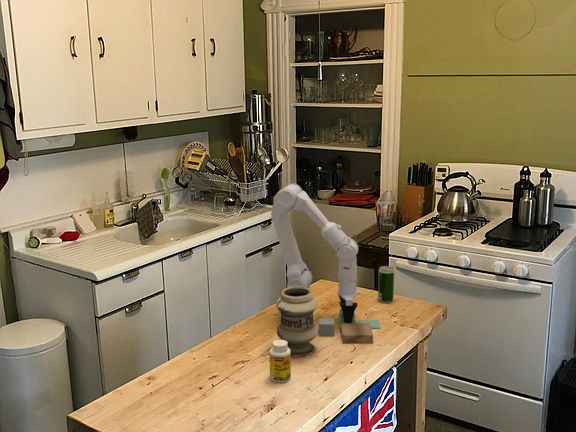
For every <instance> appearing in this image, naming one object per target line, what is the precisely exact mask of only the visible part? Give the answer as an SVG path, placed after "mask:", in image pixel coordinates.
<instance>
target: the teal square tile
mask: <svg viewBox="0 0 576 432" xmlns="http://www.w3.org/2000/svg"><path fill="white" fill-rule="evenodd" d="M358 321H359V322H358V323H370V326H371V329H373V330H375V329H376V330H380V329H381V326H380V322H379V320H378V319H358Z"/></svg>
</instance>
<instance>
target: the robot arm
mask: <svg viewBox="0 0 576 432" xmlns="http://www.w3.org/2000/svg"><path fill="white" fill-rule="evenodd" d="M302 189H303V188H302V187H301V186H300V185H298V184H297V183H290V184H287V185H286V186H285V187H283V188H281V189H280V190H278V191H277V193H276V194H275V196H274V197H273V205H272V208H271V213H270V217H271V221H272V224H273V226H274V230H275V233H276V236H277V239H278V241H279V242H278V243H279V245H280V248H281V251H282V254H283V257H284V261H285V263H286V268H287V269H286V277H287V285H286V286H287V287H286V288H289V287H294V286H301V287H306V288H309V289H310V290H311V291H312V289H311V286H310V285H311V284H312V283H313V281H314V280H313V279H314V278H313V277H314V276H313V274H312V272H311V271H310V270H309V269H308V266H307V264H306V263H305V262H304V261H303V259H302V256H301V252H300V249H299V245H298V243H297V240H296V237H295V234H294V231H293V228H292V224H291V221H290V217H289V214H290V213H291V211H292V210H293V211H300V212H304V213H305V214H306V216H308V218H310V219H311V221H313V222H314V224H316V226H318V227H319V228H320V229H321V230H320V234H321V236H322V237H323V239H325V241H326V242H328V244H329V245H330V246H331V247H332V248H333V250H335V251H336V255H337V259H338V290H337V296H338V297H339V300H340V301H339V302H338V303H339V307H340V309H342V311H343V317H344V322H345V323H352V319H353V314H354V312H355V311H356V309H357V307H358V302H353V301H354V299H355V298H356V296H358V295H361V290H359V289H357V288H358V287H357V284H358V283H357V281H358V280H357V278H358V264H357V263H358V261H357V254H358V253H359V245H358V243H357V242H356V240H354V239H352V238H351V237H350V236H348V235H346V233H345V232H344V230H343V229H341V228H342V226H341V225H340V224H339V223H338V224H336V222H332V221H329V220H328V219H327V218H326V216H325V215H324V214H323V213H322V211H321V210H320V209H319V207H317V205H316V204H315V202H313V200H312V199H311V198H310V197H309V195H308V193H307V192H306V191H304V190H302ZM293 207H294V208H293Z"/></svg>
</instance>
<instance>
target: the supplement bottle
mask: <svg viewBox="0 0 576 432" xmlns="http://www.w3.org/2000/svg"><path fill="white" fill-rule="evenodd" d="M291 359H292V355H291V351H290V349H289V348H288V343H287V341H285V340H281V339H276V340H274V341H273V342H272V346H271V348H270V350H269V378H270V380H272V381H273V382H274V383H285V382H286V383H287V382H288V381H290V379H291V375H292V373H291V371H292V369H291V368H292V366H291Z"/></svg>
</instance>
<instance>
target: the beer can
mask: <svg viewBox="0 0 576 432" xmlns="http://www.w3.org/2000/svg"><path fill="white" fill-rule="evenodd" d="M377 280H378V281H377V282H378V285H377V287H378V288H377V300H378V302H379V303H382V304H390V303H392V302H393V301H394V296H395V295H394V289H395V288H394V287H395V270H394V267H393V266H389V265H382V266H379V269H378V279H377Z"/></svg>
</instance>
